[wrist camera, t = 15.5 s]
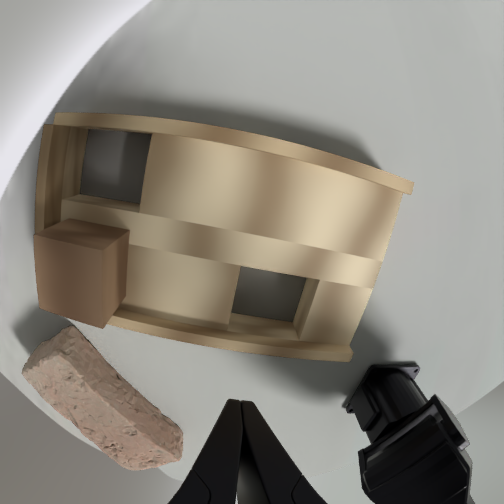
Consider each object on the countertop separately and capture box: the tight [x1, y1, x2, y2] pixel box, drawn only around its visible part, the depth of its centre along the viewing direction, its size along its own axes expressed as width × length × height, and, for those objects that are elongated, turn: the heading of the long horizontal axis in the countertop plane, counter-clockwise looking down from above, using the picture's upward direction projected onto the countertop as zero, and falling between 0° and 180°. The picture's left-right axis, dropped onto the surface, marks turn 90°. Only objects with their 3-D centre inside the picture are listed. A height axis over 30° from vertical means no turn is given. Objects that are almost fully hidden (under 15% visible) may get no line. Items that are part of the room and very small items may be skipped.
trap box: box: [35, 112, 414, 362], centre depth 17 cm, size 22×13×4 cm, turn 78°
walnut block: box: [34, 218, 130, 329], centre depth 15 cm, size 4×4×4 cm
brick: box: [22, 326, 183, 470], centre depth 22 cm, size 17×8×5 cm, turn 31°
